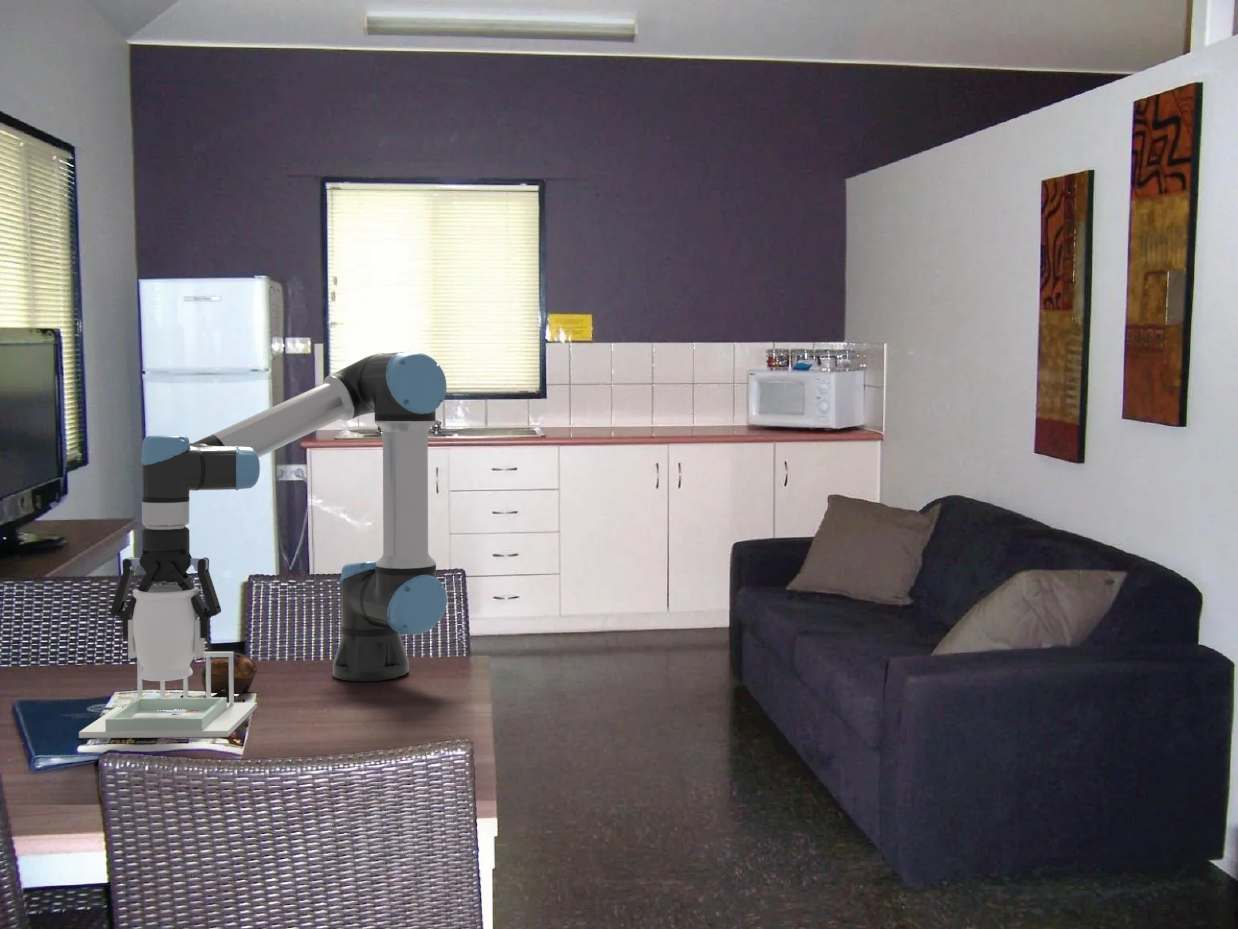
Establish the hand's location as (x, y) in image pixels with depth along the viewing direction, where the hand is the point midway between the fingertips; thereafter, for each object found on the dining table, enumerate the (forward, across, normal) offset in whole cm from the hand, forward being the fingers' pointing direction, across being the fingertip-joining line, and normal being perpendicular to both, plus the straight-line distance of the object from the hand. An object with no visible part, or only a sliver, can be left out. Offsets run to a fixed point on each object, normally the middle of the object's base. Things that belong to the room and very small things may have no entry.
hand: (166, 657), depth 205 cm
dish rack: (+12, 0, -2) cm, 12 cm away
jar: (+4, 0, 0) cm, 4 cm away
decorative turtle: (+12, -4, -23) cm, 26 cm away
